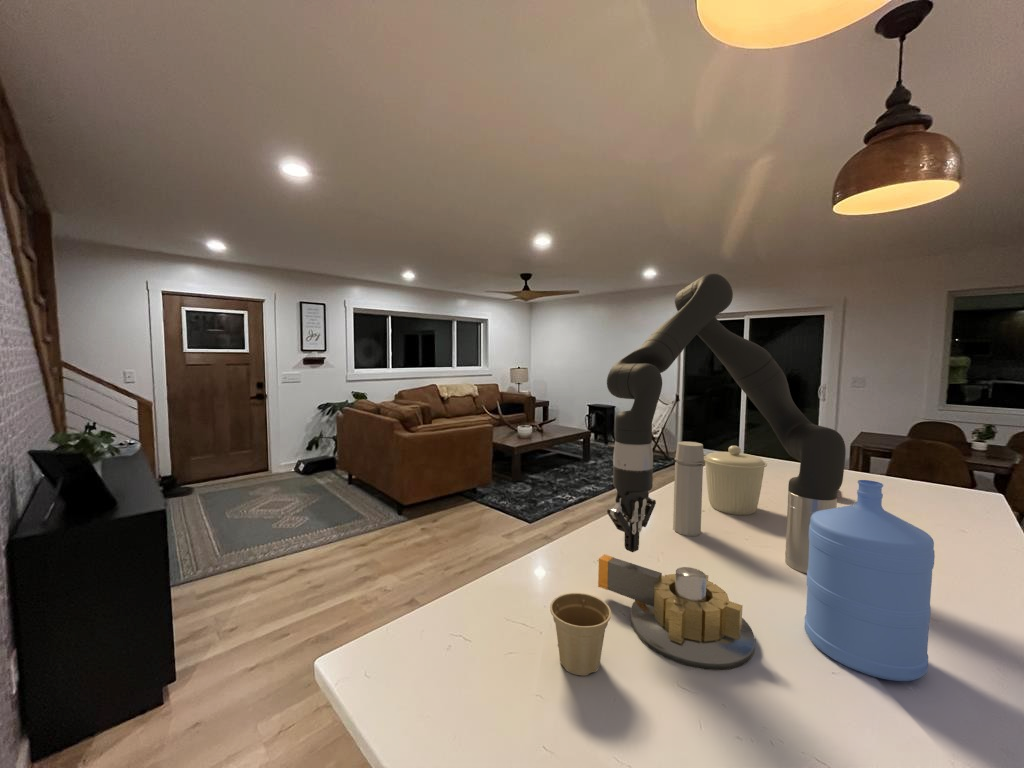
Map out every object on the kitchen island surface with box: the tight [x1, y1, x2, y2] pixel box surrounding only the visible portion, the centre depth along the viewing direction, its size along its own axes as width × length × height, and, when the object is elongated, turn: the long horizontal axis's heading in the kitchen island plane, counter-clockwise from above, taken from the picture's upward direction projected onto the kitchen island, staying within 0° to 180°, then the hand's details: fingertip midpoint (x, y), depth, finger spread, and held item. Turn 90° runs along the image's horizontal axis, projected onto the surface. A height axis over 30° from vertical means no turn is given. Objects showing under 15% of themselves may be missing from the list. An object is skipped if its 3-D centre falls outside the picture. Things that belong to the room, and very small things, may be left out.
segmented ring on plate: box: [597, 554, 743, 644], centre depth 76 cm, size 16×24×6 cm, turn 71°
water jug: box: [804, 479, 936, 682], centre depth 69 cm, size 16×16×28 cm
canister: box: [704, 445, 768, 516], centre depth 135 cm, size 18×18×21 cm
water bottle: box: [672, 441, 705, 537], centre depth 118 cm, size 9×8×25 cm
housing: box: [630, 566, 756, 671], centre depth 74 cm, size 20×20×10 cm
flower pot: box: [549, 592, 612, 676], centre depth 66 cm, size 9×9×9 cm
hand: (631, 549), depth 84 cm, fingers closed
